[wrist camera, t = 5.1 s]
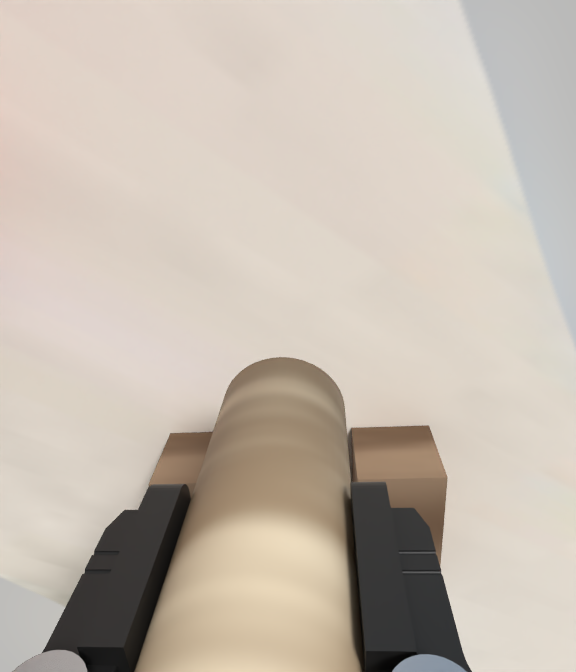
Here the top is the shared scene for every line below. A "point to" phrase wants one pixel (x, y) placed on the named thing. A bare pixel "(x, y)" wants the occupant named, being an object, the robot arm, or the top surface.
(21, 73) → the top surface
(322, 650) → the dowel
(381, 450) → the block
